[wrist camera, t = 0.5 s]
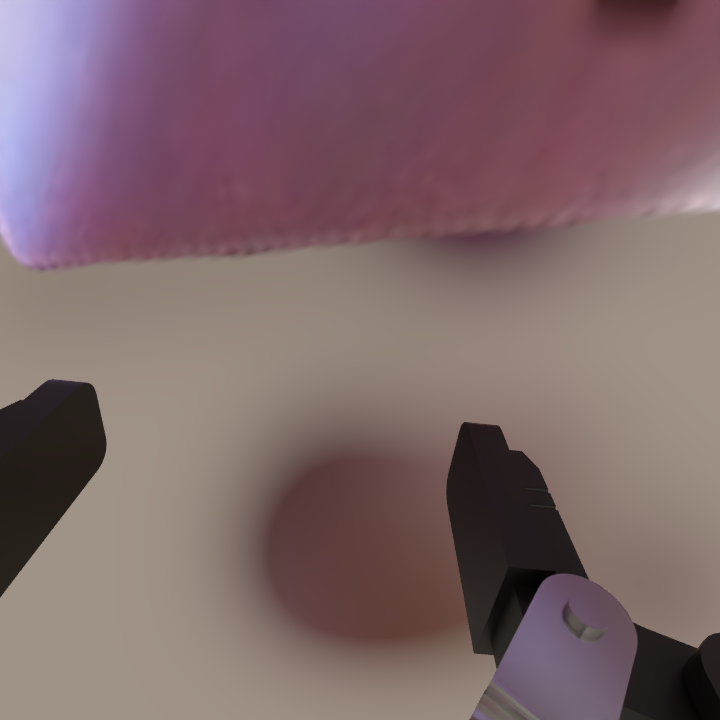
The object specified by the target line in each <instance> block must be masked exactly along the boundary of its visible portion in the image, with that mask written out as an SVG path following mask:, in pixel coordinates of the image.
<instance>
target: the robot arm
mask: <svg viewBox="0 0 720 720" xmlns="http://www.w3.org/2000/svg"><path fill="white" fill-rule="evenodd" d="M105 452H106V436H105V431H104V427H103V423H102V418H101V413H100V408H99V404H98V399H97V394H96V391H95V389H94V387H93V386H92V385H91V384H89V383H84V382H74V381H63V380H54V379H52V380H48V381H46V382H45V383H44V384H42V385H41V386H40V387H39V388H37V389H36V390H35V391H34V392H33V393H31V394H30V395H29V396H28V397H27V398H25V399H24V400H19V401H17V402H15V403H13V404H11V405H9V406H7V407H5V408H3V409H0V597H1V596H2V594H3V593H4V592H5V590H6V589H7V588H8V586H9V585H10V584H11V583H12V581H13V580H14V579H15V577H16V576H17V575H18V573H19V572H20V571H21V570H22V568H23V567H24V566H25V564H26V563H27V562H28V560H29V559H30V558H31V556H32V555H33V554H34V553H35V551H36V550H37V549H38V547H39V546H40V545H41V543H42V542H43V541H44V539H45V538H46V537H47V536H48V534H49V533H50V531H51V530H52V529H53V528H54V526H55V525H56V524H57V523H58V521H59V520H60V518H61V517H62V516H63V515H64V513H65V512H66V511H67V509H68V508H69V507H70V506H71V504H72V503H73V502H74V500H75V499H76V498H77V496H78V495H79V494H80V492H81V491H82V490H83V489H84V487H85V486H86V485H87V483H88V482H89V481H90V479H91V478H92V477H93V476H94V474H95V473H96V472H97V470H98V469H99V467H100V466H101V464H102V462H103V459H104V456H105ZM446 492H447V493H446V494H447V495H446V496H447V505H448V511H449V516H450V522H451V528H452V533H453V539H454V545H455V550H456V556H457V561H458V567H459V572H460V578H461V583H462V589H463V594H464V600H465V606H466V612H467V617H468V623H469V628H470V634H471V639H472V645H473V651H474V653H477V654H488V655H494V658H495V663H496V668H497V670H496V672H495V674H494V676H493V678H492V680H491V682H490V684H489V686H488V687H487V689H486V690H485V692H484V693H483V695H482V697H481V699H480V701H479V703H478V704H477V706H476V708H475V710H474V712H473V714H472V716H471V718H470V720H720V633H716V634H712V635H710V636H708V637H707V638H706V639H705V640H704V641H703V642H702V643H701V645H700V646H699V647H698V648H695V647H692V646H690V645H687V644H685V643H682V642H679V641H677V640H674V639H672V638H669V637H667V636H664V635H661V634H659V633H656V632H654V631H651V630H649V629H646V628H644V627H641V626H639V625H637V624H636V623H634V622H632V620H631V618H630V616H629V614H628V613H627V611H626V610H625V609H624V607H623V606H622V605H621V604H620V602H619V601H617V599H616V598H615V597H614V596H613V595H611V594H610V593H609V592H608V591H607V590H605V589H604V588H603V587H601V586H600V585H598V584H596V583H594V582H593V581H591V580H589V578H588V577H587V574H586V572H585V570H584V568H583V565H582V564H581V561H580V559H579V557H578V554H577V552H576V550H575V548H574V545H573V543H572V541H571V539H570V537H569V534H568V532H567V530H566V528H565V525H564V523H563V521H562V519H561V517H560V515H559V512H558V510H556V509H555V507H556V505H555V503H554V501H553V499H552V497H551V494H550V493H548V488H547V485H546V483H545V481H544V479H543V477H542V474H541V472H540V470H539V468H538V467H537V466H536V465H535V464H534V463H533V462H532V461H531V460H530V459H529V458H528V457H527V456H526V455H525V454H524V453H523V452H522V451H513V450H509V448H508V445H507V443H506V440H505V438H504V435H503V433H502V430H501V428H500V427H499V426H498V425H487V424H478V423H468V422H464V423H463V424H462V425H461V428H460V431H459V435H458V439H457V443H456V446H455V450H454V454H453V458H452V462H451V466H450V469H449V473H448V478H447V490H446Z"/></svg>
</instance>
